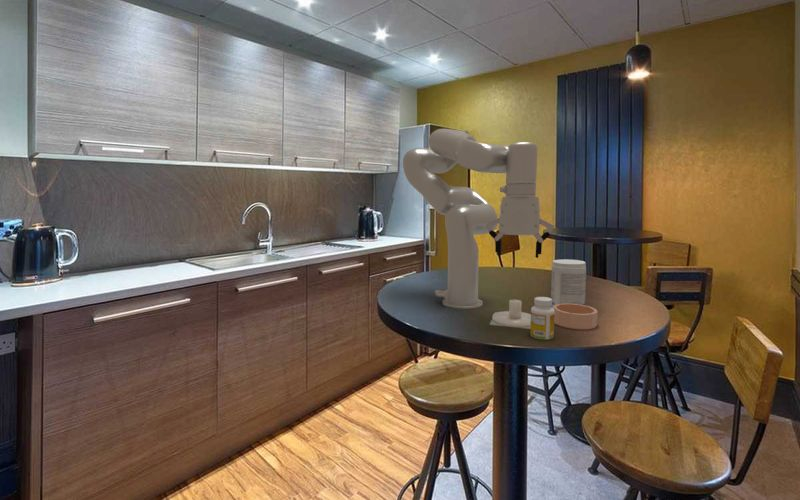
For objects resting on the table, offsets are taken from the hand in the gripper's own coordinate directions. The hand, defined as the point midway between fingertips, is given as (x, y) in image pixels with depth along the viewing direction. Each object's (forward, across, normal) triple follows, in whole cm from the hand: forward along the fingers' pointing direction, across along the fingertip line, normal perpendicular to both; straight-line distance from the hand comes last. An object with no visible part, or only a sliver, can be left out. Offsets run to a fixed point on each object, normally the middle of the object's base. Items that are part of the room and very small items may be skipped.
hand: (517, 256), depth 104 cm
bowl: (+18, +15, +2) cm, 24 cm away
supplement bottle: (+18, +7, -10) cm, 22 cm away
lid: (+18, 0, 0) cm, 18 cm away
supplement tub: (+18, +14, +18) cm, 30 cm away
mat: (+18, 0, 0) cm, 18 cm away
